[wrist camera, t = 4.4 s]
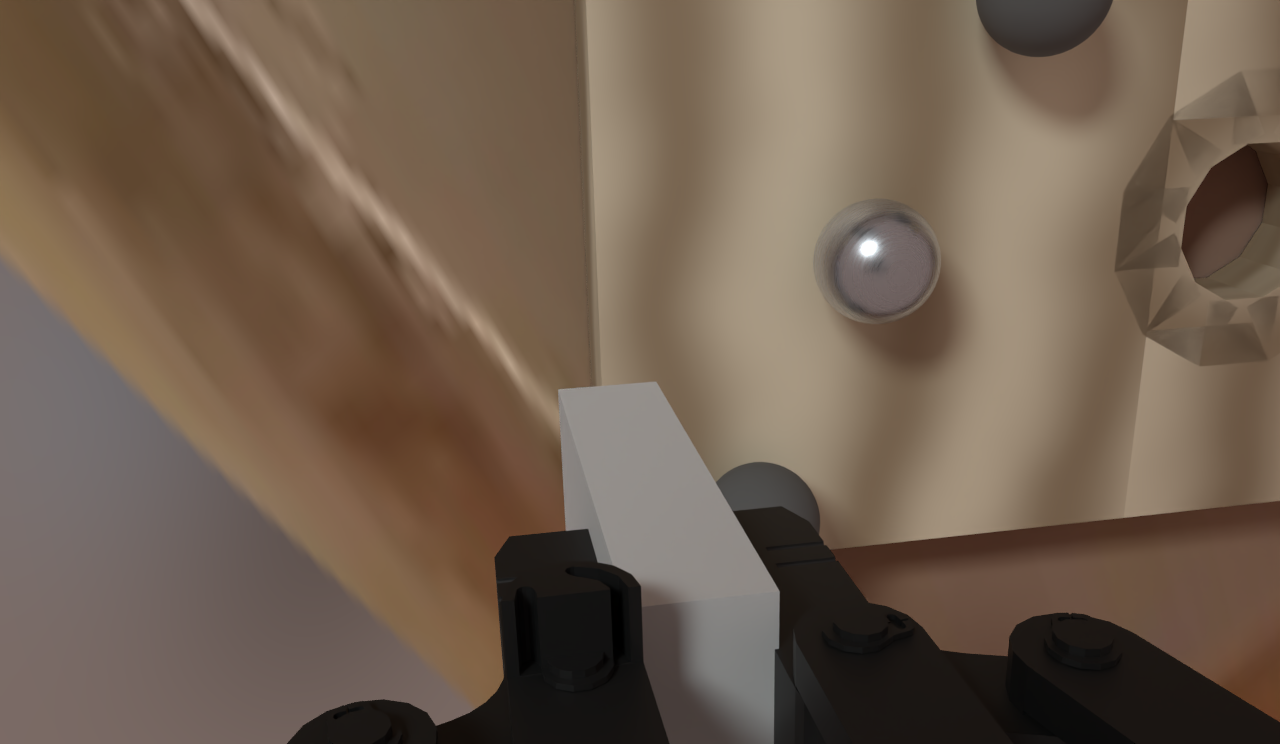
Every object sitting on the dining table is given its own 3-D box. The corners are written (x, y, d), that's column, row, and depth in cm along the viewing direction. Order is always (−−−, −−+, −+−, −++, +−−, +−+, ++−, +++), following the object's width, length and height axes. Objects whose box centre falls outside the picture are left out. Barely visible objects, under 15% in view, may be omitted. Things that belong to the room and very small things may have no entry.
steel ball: (795, 310, 30) (835, 344, 27) (798, 192, 29) (839, 214, 26) (907, 302, 30) (958, 334, 27) (913, 186, 29) (967, 206, 26)
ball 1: (691, 552, 32) (717, 609, 29) (690, 449, 31) (717, 497, 28) (798, 540, 32) (834, 595, 29) (800, 439, 31) (838, 485, 28)
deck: (597, 534, 34) (609, 573, 32) (569, -102, 28) (581, -111, 26) (1349, 456, 38) (1409, 486, 35) (1459, -115, 32) (1539, -124, 30)
